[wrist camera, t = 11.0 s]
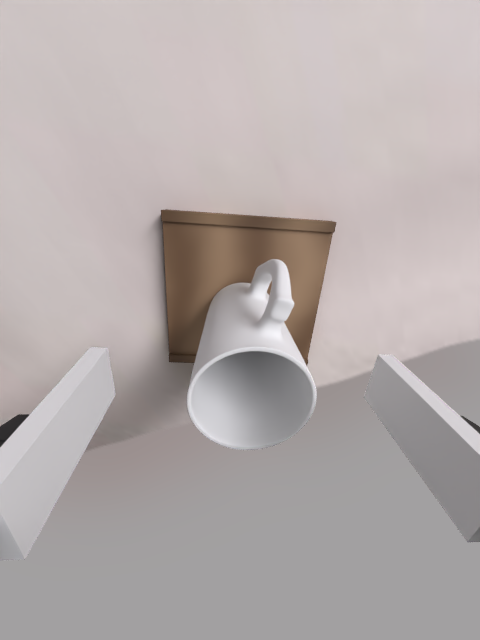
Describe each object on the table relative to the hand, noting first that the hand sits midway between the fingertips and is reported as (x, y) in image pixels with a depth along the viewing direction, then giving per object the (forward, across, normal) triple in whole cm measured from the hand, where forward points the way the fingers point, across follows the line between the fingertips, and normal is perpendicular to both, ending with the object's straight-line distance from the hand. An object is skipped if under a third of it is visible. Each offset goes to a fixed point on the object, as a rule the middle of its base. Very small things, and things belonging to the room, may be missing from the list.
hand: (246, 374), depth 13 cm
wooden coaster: (+13, +1, 0) cm, 13 cm away
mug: (+12, +1, 0) cm, 12 cm away
